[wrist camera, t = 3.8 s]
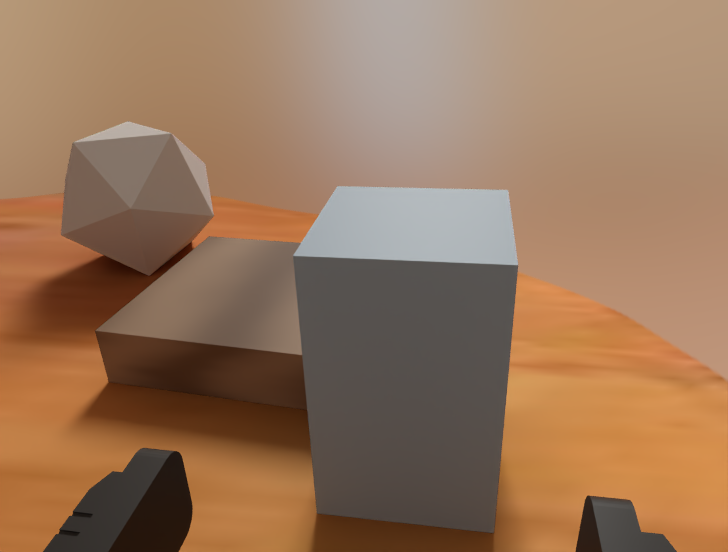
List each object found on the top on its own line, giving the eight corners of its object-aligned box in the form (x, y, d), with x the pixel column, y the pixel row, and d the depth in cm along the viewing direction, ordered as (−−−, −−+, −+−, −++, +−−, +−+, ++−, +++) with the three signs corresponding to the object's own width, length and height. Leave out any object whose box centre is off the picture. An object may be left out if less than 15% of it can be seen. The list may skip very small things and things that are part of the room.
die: (137, 232, 43) (19, 141, 36) (237, 169, 41) (134, 60, 34) (141, 321, 38) (3, 234, 30) (256, 252, 36) (138, 144, 29)
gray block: (317, 513, 19) (293, 256, 15) (349, 404, 24) (337, 186, 20) (494, 533, 18) (518, 264, 14) (490, 415, 23) (507, 190, 19)
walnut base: (111, 390, 26) (94, 330, 25) (216, 284, 35) (209, 236, 33) (333, 422, 24) (329, 358, 22) (388, 300, 32) (387, 249, 31)
